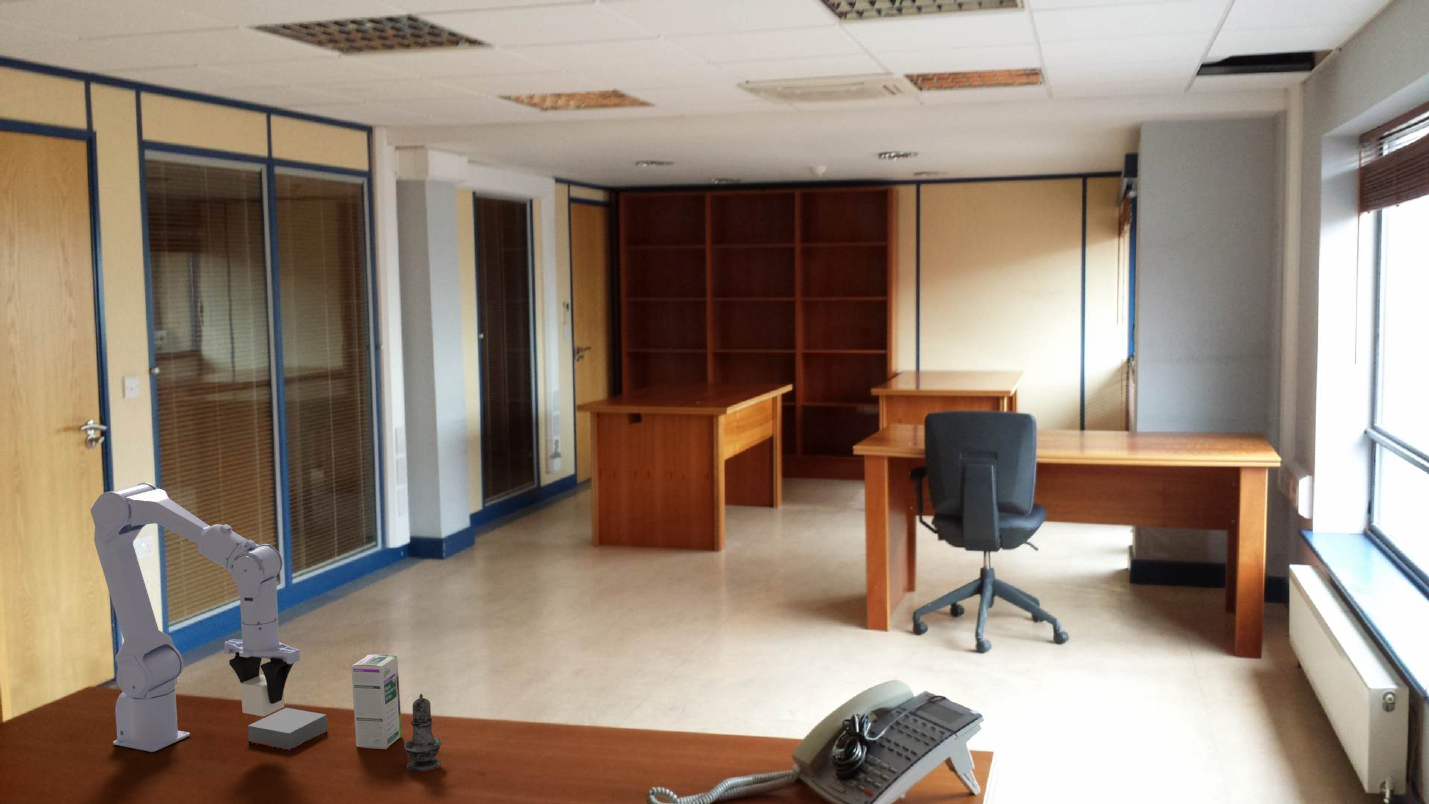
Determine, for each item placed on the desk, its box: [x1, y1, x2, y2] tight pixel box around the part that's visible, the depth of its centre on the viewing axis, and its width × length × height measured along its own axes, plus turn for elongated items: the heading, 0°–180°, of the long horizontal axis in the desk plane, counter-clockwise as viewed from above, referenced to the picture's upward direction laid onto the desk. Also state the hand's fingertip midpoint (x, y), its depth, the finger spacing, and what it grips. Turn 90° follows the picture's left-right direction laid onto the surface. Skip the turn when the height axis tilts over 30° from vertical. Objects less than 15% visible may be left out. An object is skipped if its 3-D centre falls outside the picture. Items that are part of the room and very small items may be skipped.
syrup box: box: [350, 653, 403, 750], centre depth 200 cm, size 6×6×14 cm
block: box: [247, 707, 328, 749], centre depth 204 cm, size 9×9×3 cm
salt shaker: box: [403, 693, 442, 773], centre depth 191 cm, size 6×6×12 cm
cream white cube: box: [240, 674, 285, 717], centre depth 197 cm, size 5×5×5 cm
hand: (264, 699), depth 197 cm, fingers closed on cream white cube, 5 cm apart
